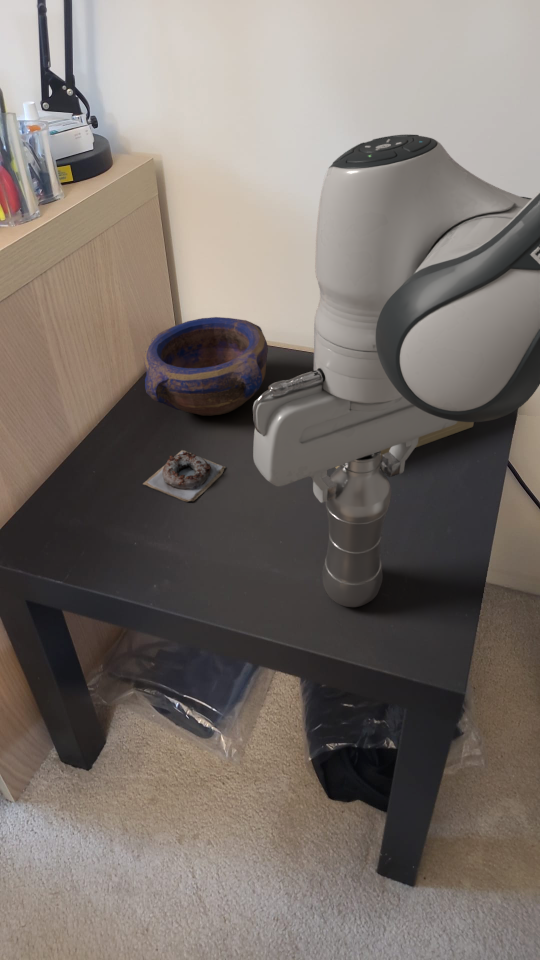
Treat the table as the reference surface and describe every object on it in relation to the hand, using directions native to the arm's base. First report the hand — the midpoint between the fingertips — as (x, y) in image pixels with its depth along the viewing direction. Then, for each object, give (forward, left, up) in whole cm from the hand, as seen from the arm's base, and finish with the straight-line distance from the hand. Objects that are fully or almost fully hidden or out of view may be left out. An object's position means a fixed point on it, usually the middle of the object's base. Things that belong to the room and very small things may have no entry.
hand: (358, 484), depth 64 cm
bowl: (+42, -1, -16) cm, 45 cm away
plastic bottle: (0, 0, -16) cm, 16 cm away
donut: (+27, +9, -16) cm, 33 cm away
